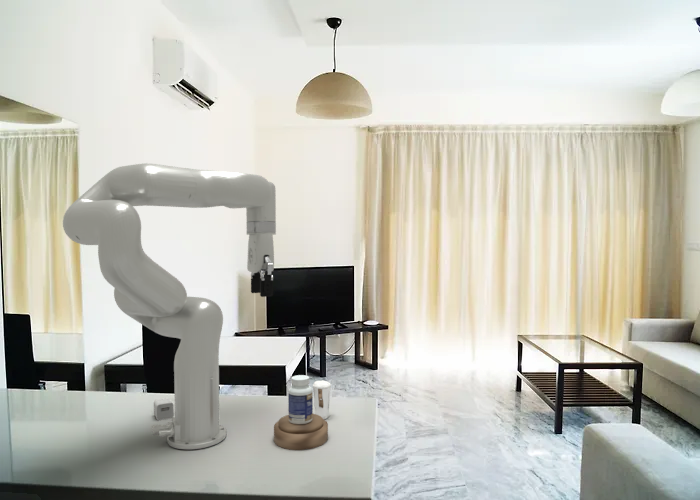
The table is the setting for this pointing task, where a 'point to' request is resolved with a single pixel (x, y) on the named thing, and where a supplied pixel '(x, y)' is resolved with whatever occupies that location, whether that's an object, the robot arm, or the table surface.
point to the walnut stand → (300, 433)
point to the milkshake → (322, 398)
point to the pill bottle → (300, 400)
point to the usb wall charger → (163, 409)
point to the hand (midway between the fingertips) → (261, 294)
